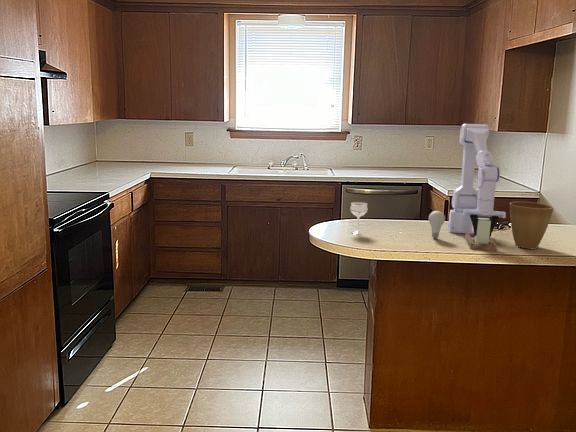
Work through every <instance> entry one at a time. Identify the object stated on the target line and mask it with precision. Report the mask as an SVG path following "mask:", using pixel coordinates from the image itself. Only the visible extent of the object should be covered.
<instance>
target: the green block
mask: <svg viewBox="0 0 576 432" xmlns="http://www.w3.org/2000/svg"><path fill="white" fill-rule="evenodd" d="M490 226H491V220H490V217H487V218H486V217H478V223H477V234H476V236H475V239H474V241H475V243H482V244H489V236H490Z"/></svg>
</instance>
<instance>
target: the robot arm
mask: <svg viewBox="0 0 576 432" xmlns="http://www.w3.org/2000/svg"><path fill="white" fill-rule="evenodd" d="M489 135H490V127H489V124H485V123H484V124H478V123H477V124H474V123H463V124H461V127H460V129H459V144H460V145H462V149H463V151H462V165H461V177H460V178H461V179H460V180H461V181H460V186H458V187H457V188H455V189H454V190H453V192H452V197H451V206H452V208H453V209H450V210H449V214H448V216H449V217H448V224H447V229H448V232H449V233H455V234H465V233H474V236H476V234H477V223H478V218H479V217H487V218H489V219H490V220H491V226H490V236H489V237H490V238H491V236H492V233H493V231H494V228H495V227H496V225H497V224H498V222H499V220H500V218H502V219H506V218H507V216H506V215H507V213H506V212H505V211H498V210H494V205H495V196H496V186H497V183H498V182H499V180H500V176H501V171H500V167H499V166H498V165H497V164H495V162H494V157H493V154H492V152H491V151H490V150H488V144H487V142H488V138H489ZM476 153H477V154H476ZM476 164H477V168H478V170H477V186H478V190H477V189H476V188H475V187H474V181H475V180H474V179H475V166H476Z"/></svg>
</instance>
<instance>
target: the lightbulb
mask: <svg viewBox="0 0 576 432" xmlns="http://www.w3.org/2000/svg"><path fill="white" fill-rule="evenodd" d="M445 221H446V216H445V214H444V212H442V211H440V210H434V211H433V210H432V211H431V213H429V215H428V222H429V224H430V227H431V228H430V229H431V237H432V238H433V239H438V238H439V236H440V232H441V228H442V226H443V225H444V224H445Z"/></svg>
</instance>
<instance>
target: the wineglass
mask: <svg viewBox="0 0 576 432" xmlns="http://www.w3.org/2000/svg"><path fill="white" fill-rule="evenodd" d="M350 204H351V205H350V208H349V210H350V213H351V214H352V215H353V216H355V217H356V218H357V221H356V225H357V226H356V229H357V230H356V231H352V232H351V234H352V233H353V235H357V234H361V235H364V232H363V231H359V225H360V224H359V223H360V218H361V217H363V216H364V215H366V214H367V212H368V203H367V202H363V201H352V202H350Z"/></svg>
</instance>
